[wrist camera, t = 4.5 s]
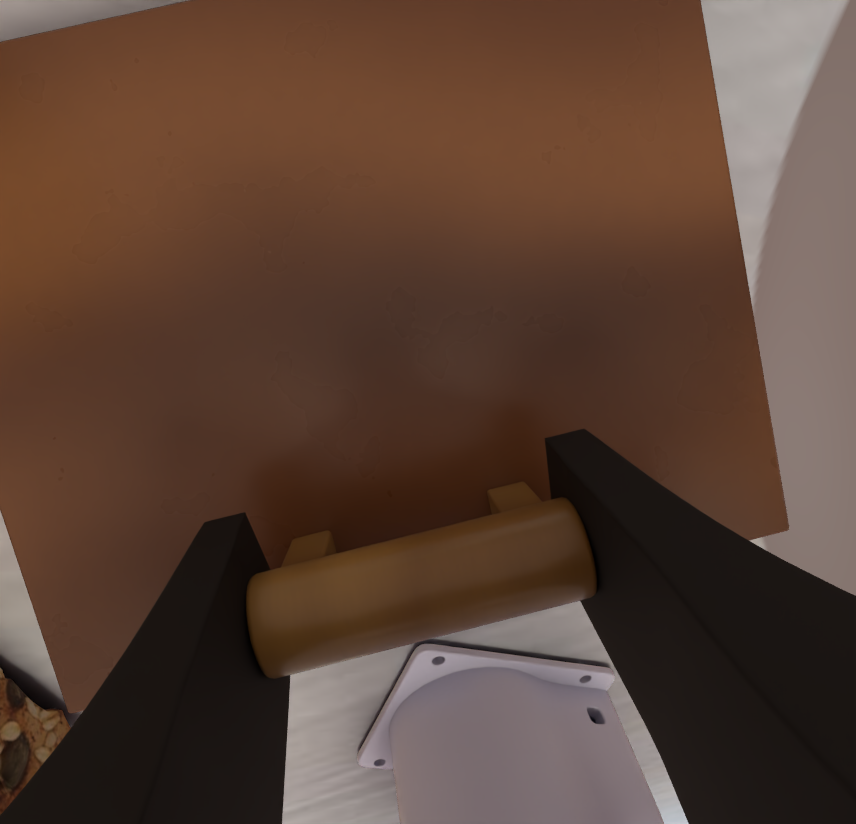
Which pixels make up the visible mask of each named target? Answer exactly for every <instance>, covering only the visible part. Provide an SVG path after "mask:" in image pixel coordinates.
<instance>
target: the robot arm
mask: <svg viewBox="0 0 856 824" xmlns="http://www.w3.org/2000/svg"><path fill="white" fill-rule="evenodd" d="M545 446H546V456H547V465H548V475H549V484H550V493H551V500H552V499H556V498H560V497H564V498H567V499H568V500H569V501H570V502H571V503H572V504H573V506H574V507H575V509H576V510H577V512H578V514H579V516H580V518H581V520H582V522H583V524H584V527H585V529H586V532H587V535H588V538H589V541H590V545H591V548H592V552H593V556H594V560H595V566H596V572H597V591H596V594H595V595H594V596H592V597H591V598H588V599H584V600H580V601H581V603H582V605H583V607H584V609H585V611H586V613H587V615H588V617H589V618H590V620H591V622H592V624H593V626H594V628H595V630H596V632H597V634H598V636H599V638H600V639H601V641H602V643H603V645H604V647H605V649H606V651H607V653H608V655H609V657H610V658H611V660H612V662H613V664H614V666H615V668H616V670H617V672H618V674H619V675H620V677H621V679H622V681H623V683H624V685H625V687H626V689H627V691H628V693H629V694H630V696H631V698H632V700H633V702H634V704H635V706H636V708H637V710H638V711H639V713H640V715H641V717H642V719H643V721H644V723H645V725H646V727H647V729H648V731H649V733H650V735H651V737H652V739H653V741H654V743H655V745H656V748H657V750H658V752H659V754H660V756H661V758H662V760H663V763H664V765H665V768H666V770H667V772H668V775H669V777H670V780H671V782H672V784H673V787H674V789H675V792H676V794H677V796H678V799H679V801H680V804H681V806H682V808H683V811H684V813H685V816H686V818H687V820H688V823H689V824H856V596H855V595H853V594H850V593H848V592H846V591H844V590H842V589H840V588H838V587H836V586H834V585H832V584H829V583H828V582H825V581H824V580H822V579H820V578H818V577H816V576H814V575H812V574H810V573H808V572H806V571H804V570H802V569H800V568H798V567H796V566H794V565H792V564H790V563H788V562H786V561H784V560H782V559H780V558H779V557H777V556H775V555H773V554H771V553H769V552H768V551H766V550H764V549H762V548H761V547H759V546H757V545H755V544H754V543H752V542H750V541H749V540H747V539H745V538H744V537H742V536H740V535H739V534H737V533H735V532H734V531H732V530H730V529H729V528H727V527H725V526H724V525H722V524H720V523H719V522H717V521H716V520H714V519H712V518H711V517H709V516H708V515H706V514H705V513H703V512H701V511H700V510H698V509H697V508H695V507H694V506H692V505H691V504H689V503H688V502H686V501H685V500H683V499H682V498H681V497H679V496H678V495H676V494H675V493H673V492H672V491H670V490H669V489H667V488H666V487H664V486H663V485H661V484H660V483H658V482H657V481H656V480H654V479H653V478H651V477H650V476H649V475H647V474H646V473H644V472H643V471H642V470H640V469H639V468H638V467H636V466H635V465H633V464H632V463H631V462H629V461H628V460H627V459H625V458H624V457H623V456H621V455H620V454H618V453H617V452H616V451H615V450H613V449H612V448H611V447H609V446H608V445H607V444H605V443H604V442H603V441H601V440H600V439H599V438H597V437H596V436H595V435H593V434H592V433H590V432H589V431H587V430H586V429H580V430H576V431H572V432H568V433H564V434H560V435H556V436H552V437H548V438H545ZM268 570H271V569H270V567H269V565H268V563H267V560H266V558H265V556H264V554H263V551H262V549H261V547H260V545H259V542H258V540H257V538H256V536H255V533H254V531H253V529H252V527H251V524H250V522H249V520H248V518H247V515H246V513H245V512H243V513H239V514H235V515H231V516H227V517H223V518H219V519H215V520H211V521H207V522H204V524H203V525H202V527H201V528H200V530H199V531H198V533H197V535H196V536H195V538H194V539H193V541H192V543H191V544H190V546H189V548H188V549H187V551H186V553H185V554H184V556H183V558H182V559H181V561H180V563H179V564H178V566H177V568H176V570H175V571H174V573H173V575H172V576H171V578H170V580H169V581H168V583H167V585H166V586H165V588H164V590H163V591H162V593H161V595H160V596H159V598H158V599H157V601H156V603H155V604H154V606H153V608H152V609H151V611H150V612H149V614H148V615H147V617H146V619H145V620H144V622H143V623H142V625H141V627H140V628H139V630H138V631H137V633H136V635H135V636H134V638H133V639H132V641H131V642H130V644H129V646H128V647H127V649H126V650H125V652H124V653H123V655H122V656H121V658H120V659H119V661H118V662H117V664H116V665H115V667H114V668H113V669H112V671H111V672H110V674H109V675H108V677H107V678H106V680H105V681H104V682H103V684H102V685H101V687H100V688H99V690H98V691H97V693H96V694H95V695H94V697H93V698H92V700H91V701H90V703H89V704H88V706H87V707H86V708H85V710H84V711H83V713H82V714H81V715H80V717H79V718H78V719H77V721H76V722H75V723H74V725H73V726H72V727H71V729H70V730H69V731H68V733H67V734H66V735H65V737H64V738H63V739H62V741H61V742H60V743H59V744H58V746H57V747H56V748H55V750H54V751H53V752H52V753H51V755H50V756H49V757H48V758H47V759H46V761H45V762H44V763H43V764H42V766H41V767H40V768H39V769H38V771H37V772H36V773H35V774H34V776H33V777H32V778H31V779H30V781H29V782H28V783H27V784H26V786H25V787H24V788H23V789H22V790H21V792H20V793H19V794H18V795H17V796H16V798H15V799H14V800H13V801H12V802H11V803H10V805H9V806H8V807H7V808H6V809H5V810H4V812H3V813H2V814H1V815H0V824H282V813H283V795H284V778H285V761H286V744H287V727H288V709H289V690H290V675H288V676H284V677H280V678H276V679H273V678H268V677H267V676H266V675H265V674H264V673H263V672H262V670H261V668H260V666H259V664H258V662H257V660H256V657H255V655H254V652H253V648H252V645H251V641H250V637H249V631H248V625H247V618H246V592H247V585H248V582H249V580H250V578H251V577H252V576H254V575H255V574H256V573H260V572H264V571H268ZM614 680H615V675H614V673H613V671H612V670H611V669H610V668H607V667H600V666H593V665H585V664H578V663H570V662H563V661H556V660H548V659H541V658H533V657H526V656H518V655H511V654H503V653H496V652H489V651H481V650H474V649H466V648H459V647H451V646H444V645H437V644H422V645H420V646H418V647H417V648H416V649H415V650H414V652H413V654H412V655H411V657H410V659H409V661H408V663H407V665H406V666H405V668H404V670H403V672H402V674H401V675H400V677H399V679H398V681H397V683H396V685H395V686H394V688H393V690H392V692H391V694H390V696H389V697H388V699H387V701H386V703H385V705H384V707H383V708H382V710H381V712H380V714H379V716H378V718H377V719H376V721H375V723H374V725H373V727H372V729H371V730H370V732H369V734H368V736H367V738H366V740H365V741H364V743H363V745H362V747H361V749H360V751H359V752H358V755H357V760H358V764H359V765H360V766H361V767H364V768H377V769H392V770H394V778H395V786H396V794H397V802H398V810H399V819H400V824H664V822H663V820H662V817H661V814H660V812H659V809H658V807H657V805H656V802H655V800H654V798H653V796H652V793H651V791H650V789H649V786H648V784H647V782H646V779H645V777H644V775H643V773H642V770H641V768H640V766H639V763H638V761H637V759H636V756H635V754H634V752H633V750H632V747H631V745H630V743H629V740H628V738H627V736H626V733H625V731H624V729H623V727H622V724H621V722H620V720H619V717H618V715H617V713H616V710H615V708H614V706H613V704H612V701H611V699H610V697H609V694H608V692H607V690H608V689H609V688H610V686H611V685H612V684H613V682H614Z"/></svg>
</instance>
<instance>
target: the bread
mask: <svg viewBox="0 0 856 824" xmlns="http://www.w3.org/2000/svg"><path fill="white" fill-rule="evenodd" d="M70 729H71V728H70V726H69V724H68V722H67V720H66V718H65V716H64V714H63V711H62V710H58V709H54V708H51V709H47V710H44V709H43V708H41V707H39V706H38V705H36V704H35V703H33V702H32V701H31V700H30V699H29V698H28V697H27V696H26V695H25V694H24V693H23V692H22V690H21V689H20V688H19V687H18V686H17V685H16V684H15V683H14V682H13V680H12V679H7V678H5V677H4V674H3V671H2V669H1V668H0V815H1V814H2V813H3V812H4V810H5V809H6V808H7V807H8V806H9V805H10V803H11V802H12V801H13V800H14V799H15V798H16V796H17V795H18V794H19V793H20V792H21V790H22V789H23V788H24V787H25V786H26V784H27V783H28V782H29V781H30V779H31V778H32V777H33V776H34V774H35V773H36V772H37V771H38V769H39V768H40V767H41V766H42V764H43V763H44V762H45V761H46V759H47V758H48V757H49V756H50V755H51V753H52V752H53V751H54V750H55V748H56V747H57V746H58V744H59V743H60V742H61V741H62V739H63V738H64V737H65V735H66V734H67V733H68V731H69V730H70Z"/></svg>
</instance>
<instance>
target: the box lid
mask: <svg viewBox="0 0 856 824" xmlns="http://www.w3.org/2000/svg"><path fill="white" fill-rule="evenodd" d="M580 429H586V430H587V431H589V432H590V433H592V434H593V435H595V436H596V437H597V438H599V439H600V440H601V441H603V442H604V443H605V444H607V445H608V446H609V447H611V448H612V449H613V450H615V451H616V452H617V453H618V454H620V455H621V456H623V457H624V458H625V459H627V460H628V461H629V462H631V463H632V464H633V465H635V466H636V467H638V468H639V469H640V470H642V471H643V472H644V473H646V474H647V475H649V476H650V477H651V478H653V479H654V480H656V481H657V482H658V483H660V484H661V485H663V486H664V487H666V488H667V489H669V490H670V491H672V492H673V493H675V494H676V495H678V496H679V497H681V498H682V499H683V500H685V501H686V502H688V503H689V504H691V505H692V506H694V507H695V508H697V509H698V510H700V511H701V512H703V513H705V514H706V515H708V516H709V517H711V518H712V519H714V520H716V521H717V522H719V523H720V524H722V525H724V526H725V527H727V528H729V529H730V530H732V531H734V532H735V533H737V534H739V535H740V536H742V537H744V538H745V539H747V540H752V539H756V538H760V537H764V536H768V535H771V534H776V533H780V532H784V531H787V530H789V524H788V518H787V513H786V506H785V501H784V494H783V488H782V482H781V476H780V470H779V464H778V459H777V453H776V447H775V441H774V435H773V428H772V423H771V417H770V411H769V405H768V399H767V393H766V387H765V381H764V375H763V369H762V363H761V357H760V351H759V345H758V339H757V334H756V327H755V322H754V316H753V310H752V304H751V298H750V292H749V286H748V280H747V274H746V268H745V262H744V256H743V250H742V244H741V238H740V232H739V226H738V221H737V215H736V209H735V203H734V197H733V191H732V185H731V179H730V173H729V167H728V161H727V155H726V149H725V143H724V137H723V131H722V125H721V120H720V114H719V108H718V102H717V96H716V90H715V84H714V78H713V72H712V66H711V60H710V54H709V48H708V42H707V36H706V30H705V24H704V19H703V13H702V7H701V1H700V0H189V1H185V2H180V3H175V4H171V5H166V6H162V7H157V8H153V9H148V10H144V11H139V12H134V13H130V14H125V15H121V16H116V17H112V18H107V19H102V20H98V21H93V22H89V23H84V24H80V25H75V26H71V27H66V28H61V29H57V30H52V31H48V32H43V33H39V34H34V35H29V36H25V37H20V38H16V39H11V40H7V41H2V42H0V510H1V513H2V516H3V519H4V522H5V525H6V528H7V531H8V534H9V537H10V540H11V543H12V546H13V549H14V552H15V555H16V558H17V561H18V564H19V567H20V570H21V573H22V576H23V579H24V581H25V584H26V587H27V590H28V593H29V596H30V599H31V602H32V605H33V608H34V611H35V614H36V617H37V620H38V623H39V626H40V629H41V632H42V635H43V638H44V641H45V644H46V647H47V650H48V653H49V656H50V659H51V662H52V665H53V668H54V671H55V674H56V677H57V680H58V683H59V686H60V689H61V692H62V695H63V698H64V701H65V704H66V707H67V710H68V712H69V713H76V712H80V711H84V710H85V708H86V707H87V706H88V704H89V703H90V701H91V700H92V698H93V697H94V695H95V694H96V693H97V691H98V690H99V688H100V687H101V685H102V684H103V682H104V681H105V680H106V678H107V677H108V675H109V674H110V672H111V671H112V669H113V668H114V667H115V665H116V664H117V662H118V661H119V659H120V658H121V656H122V655H123V653H124V652H125V650H126V649H127V647H128V646H129V644H130V642H131V641H132V639H133V638H134V636H135V635H136V633H137V631H138V630H139V628H140V627H141V625H142V623H143V622H144V620H145V619H146V617H147V615H148V614H149V612H150V611H151V609H152V608H153V606H154V604H155V603H156V601H157V599H158V598H159V596H160V595H161V593H162V591H163V590H164V588H165V586H166V585H167V583H168V581H169V580H170V578H171V576H172V575H173V573H174V571H175V570H176V568H177V566H178V564H179V563H180V561H181V559H182V558H183V556H184V554H185V553H186V551H187V549H188V548H189V546H190V544H191V543H192V541H193V539H194V538H195V536H196V535H197V533H198V531H199V530H200V528H201V527H202V525H203V524H204V522H207V521H211V520H215V519H219V518H223V517H227V516H231V515H235V514H239V513H243V512H245V513H246V515H247V518H248V520H249V522H250V524H251V527H252V529H253V531H254V533H255V536H256V538H257V540H258V542H259V545H260V547H261V549H262V551H263V554H264V556H265V558H266V560H267V563H268V565H269V567H270V569H271V570H268V571H264V572H260V573H256V574H255V575H254V576H252V577H251V578H250V580H249V582H248V585H247V592H246V618H247V625H248V631H249V637H250V641H251V645H252V648H253V652H254V655H255V657H256V660H257V662H258V664H259V666H260V668H261V670H262V672H263V673H264V674H265V675H266V676H267V677H268V678H273V679H276V678H280V677H284V676H288V675H292V674H295V673H299V672H303V671H307V670H311V669H315V668H319V667H323V666H327V665H331V664H334V663H338V662H342V661H346V660H350V659H354V658H358V657H362V656H366V655H370V654H373V653H377V652H381V651H385V650H389V649H393V648H397V647H401V646H405V645H409V644H412V643H416V642H420V641H424V640H428V639H432V638H436V637H440V636H444V635H447V634H451V633H455V632H459V631H463V630H467V629H471V628H475V627H479V626H483V625H486V624H490V623H494V622H498V621H502V620H506V619H510V618H514V617H518V616H522V615H525V614H529V613H533V612H537V611H541V610H545V609H549V608H553V607H557V606H561V605H564V604H568V603H572V602H576V601H580V600H584V599H588V598H591V597H592V596H594V595H595V594H596V591H597V572H596V566H595V560H594V556H593V552H592V548H591V545H590V541H589V538H588V535H587V532H586V529H585V527H584V524H583V522H582V520H581V518H580V516H579V514H578V512H577V510H576V509H575V507H574V506H573V504H572V503H571V502H570V501H569V500H568V499H567V498H564V497H560V498H556V499H552V500H551V493H550V484H549V475H548V465H547V456H546V446H545V438H548V437H552V436H556V435H560V434H564V433H568V432H572V431H576V430H580Z"/></svg>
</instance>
